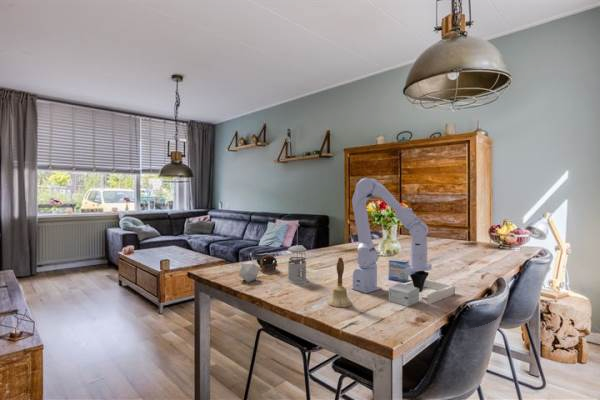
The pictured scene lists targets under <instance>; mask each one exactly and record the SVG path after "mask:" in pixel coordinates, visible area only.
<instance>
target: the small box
mask: <svg viewBox="0 0 600 400" xmlns="http://www.w3.org/2000/svg"><path fill="white" fill-rule="evenodd" d="M388 302H392V303H395V304H398V305H402V306H405V307H410V306H412V305H415V304H417V303H419V302H420V292H419V288H417V287H412V286H409V285H404V283H397V284H395V285H391V286H389V287H388Z"/></svg>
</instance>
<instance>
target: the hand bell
mask: <svg viewBox="0 0 600 400" xmlns="http://www.w3.org/2000/svg"><path fill="white" fill-rule="evenodd" d="M344 269H345V264H344V260H343V257H338V259H337V262H336V274H337V282H336V283H337V284H336V285H335V287H333V288H332V289H333V290H332V296H331V297H330V299H328V301H327V304H328V305H329V306H332V307H336V308H347V307H351V306H352V305H353V303H352V300H350V298H349V297H348V293H347V288H346V287H344V286H343V275H344V271H345V270H344Z"/></svg>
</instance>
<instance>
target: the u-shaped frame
mask: <svg viewBox="0 0 600 400" xmlns="http://www.w3.org/2000/svg"><path fill="white" fill-rule="evenodd" d="M403 284H404V285H409V286H412V287H414V285H413V281H412V280H411V281H407V282H404V283H403ZM423 288H427V289H432V290H435V291H433V292H431V293H428V294H427V295H426V296H427V299H426V302H427V304H428V305H431V304H433V303H436V302H438V301H440V300H444V299H446V298H448V297H450V296H452V295H456V285H453V284H449V283H444V282H440V281H436V280H431V279H427V278H426V280H425V282H424V285H423Z"/></svg>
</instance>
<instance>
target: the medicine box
mask: <svg viewBox="0 0 600 400" xmlns="http://www.w3.org/2000/svg"><path fill="white" fill-rule="evenodd" d="M409 264H410V263H409V260H407V259H405V260H404V259H395V258H389V260H388V277H387V279H388V280H389V281H396V282H404V283H407V282H408V280H409V275H406V274H405V269H407V268H408V267H409V266H410V265H409Z"/></svg>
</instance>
